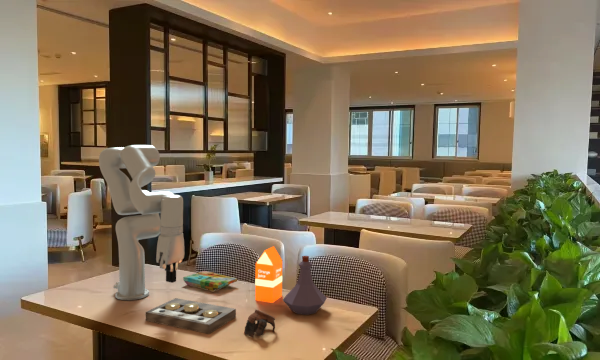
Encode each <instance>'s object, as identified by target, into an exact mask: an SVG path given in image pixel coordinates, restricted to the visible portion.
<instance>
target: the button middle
mask: <svg viewBox="0 0 600 360" xmlns="http://www.w3.org/2000/svg"><path fill="white" fill-rule="evenodd" d="M197 312H199V305H198V304H195V303H191V304H186V305H184V313H187V314H192V315H193V314H195V313H197Z"/></svg>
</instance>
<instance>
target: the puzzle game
mask: <svg viewBox="0 0 600 360" xmlns="http://www.w3.org/2000/svg"><path fill="white" fill-rule="evenodd" d="M182 279H183V282H184V283H185V284H186V285H187V286H190V287H194V288H197V289H202V290H206V291H210V292H215V291H218V290H221V289H223V288H226V287H228V286H230V285H231V284H234V283H237V282H238V278H236V277H232V276H228V275H224V274H221V273H215V272H214V271H212V272H211V271H206V270H203V271H199V272H197V273H193V274H190V275H187V276H184V277H183V278H182Z"/></svg>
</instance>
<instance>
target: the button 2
mask: <svg viewBox="0 0 600 360" xmlns="http://www.w3.org/2000/svg"><path fill="white" fill-rule="evenodd" d="M216 316H218V311H217V310H206V311H204V312H203V317H208V318H215V317H216Z"/></svg>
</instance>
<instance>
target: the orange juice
mask: <svg viewBox="0 0 600 360" xmlns="http://www.w3.org/2000/svg"><path fill="white" fill-rule="evenodd" d="M254 272H255V277H254V278H255V279H254V280H255V281H254V283H255V285H254V287H255V299H254V300H255V301H258V302H265V303H270V304H273V303H275V302H276V301H277V300H279V299H280V298H282V296H283V259H282V258H281V255H280V254H279V252H278V251H277V249H276V247H275V246H274V245H273V246H271V247H269V248H267V249H264V251H263V253H262V254H261V256H260V257H259V258H258V260H257V261H256V262H255V271H254Z"/></svg>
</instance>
